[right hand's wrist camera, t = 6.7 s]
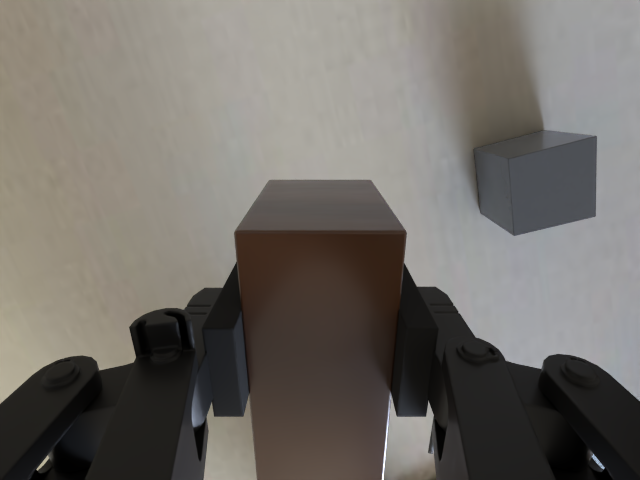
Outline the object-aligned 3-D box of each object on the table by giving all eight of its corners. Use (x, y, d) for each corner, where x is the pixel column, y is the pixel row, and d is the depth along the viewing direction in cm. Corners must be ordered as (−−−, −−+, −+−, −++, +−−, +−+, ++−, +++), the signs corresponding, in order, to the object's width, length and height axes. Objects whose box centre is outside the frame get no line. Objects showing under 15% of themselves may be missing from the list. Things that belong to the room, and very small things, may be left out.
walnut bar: (268, 179, 14) (233, 231, 8) (371, 179, 14) (407, 231, 8) (288, 556, 22) (277, 708, 17) (351, 556, 22) (362, 708, 17)
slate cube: (473, 148, 25) (508, 158, 20) (544, 129, 25) (597, 135, 20) (480, 213, 27) (513, 236, 22) (547, 197, 26) (596, 216, 22)
